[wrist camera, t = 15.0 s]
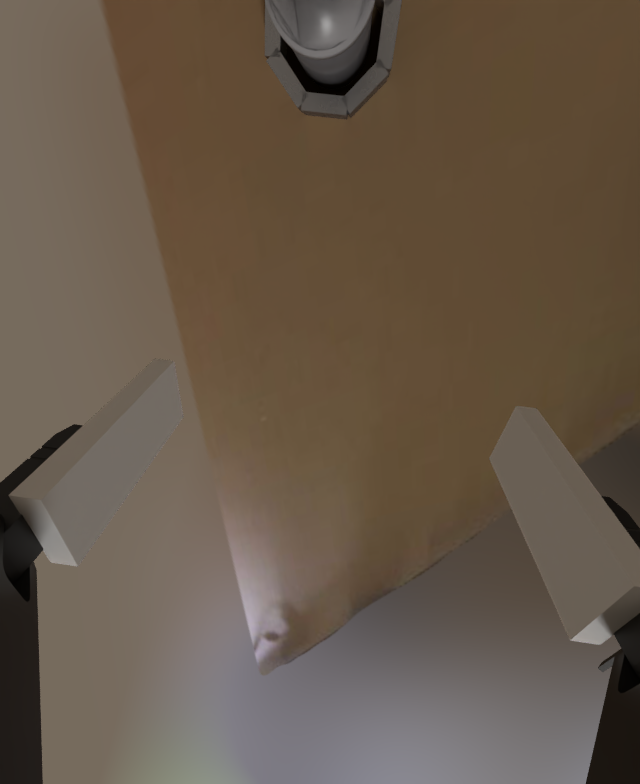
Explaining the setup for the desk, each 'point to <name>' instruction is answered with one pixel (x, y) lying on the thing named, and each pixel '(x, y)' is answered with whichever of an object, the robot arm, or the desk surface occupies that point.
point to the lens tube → (326, 36)
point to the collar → (360, 92)
